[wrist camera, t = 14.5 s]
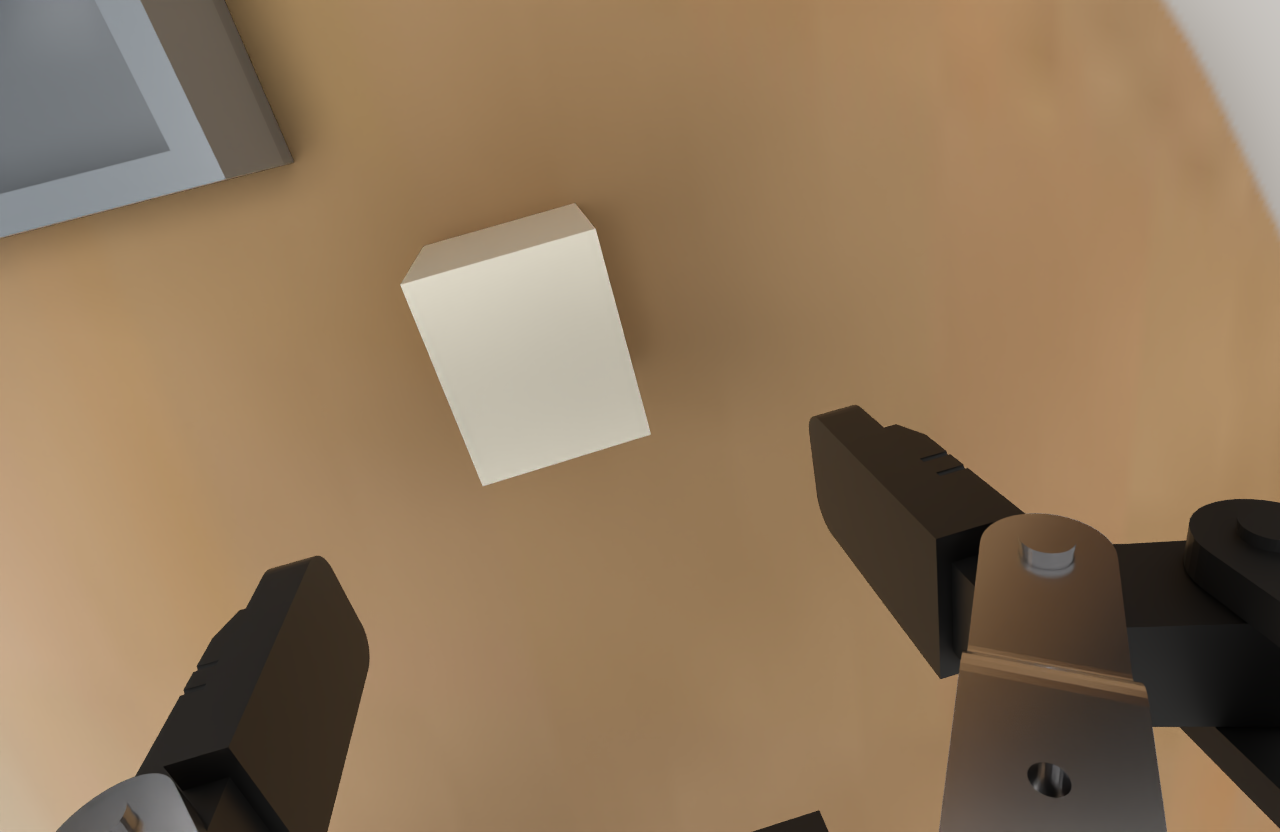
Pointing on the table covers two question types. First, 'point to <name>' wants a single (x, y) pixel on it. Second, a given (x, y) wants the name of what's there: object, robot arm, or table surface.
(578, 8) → the table surface
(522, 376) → the cream box
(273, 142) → the tote
